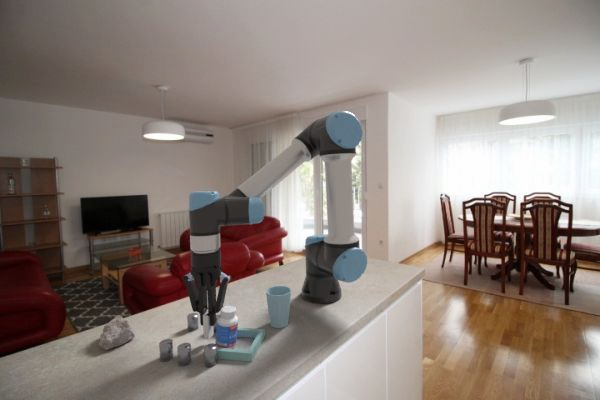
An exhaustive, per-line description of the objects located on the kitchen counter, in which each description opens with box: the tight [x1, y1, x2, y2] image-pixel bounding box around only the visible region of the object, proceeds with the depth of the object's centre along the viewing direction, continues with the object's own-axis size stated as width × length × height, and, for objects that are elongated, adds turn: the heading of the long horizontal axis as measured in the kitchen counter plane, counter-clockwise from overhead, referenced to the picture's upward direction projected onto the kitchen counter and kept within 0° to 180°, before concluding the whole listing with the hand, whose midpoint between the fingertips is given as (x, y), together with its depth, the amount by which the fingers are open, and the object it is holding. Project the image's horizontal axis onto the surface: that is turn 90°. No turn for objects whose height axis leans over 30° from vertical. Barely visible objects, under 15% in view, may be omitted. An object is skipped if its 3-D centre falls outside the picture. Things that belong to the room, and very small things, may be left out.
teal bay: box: [217, 327, 266, 362], centre depth 74 cm, size 9×11×2 cm
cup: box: [265, 285, 292, 329], centre depth 85 cm, size 8×8×10 cm
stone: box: [98, 314, 136, 351], centre depth 77 cm, size 8×10×6 cm
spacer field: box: [158, 312, 220, 368], centre depth 75 cm, size 16×18×4 cm
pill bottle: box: [214, 305, 239, 349], centre depth 74 cm, size 6×5×10 cm
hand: (208, 336), depth 75 cm, fingers closed
